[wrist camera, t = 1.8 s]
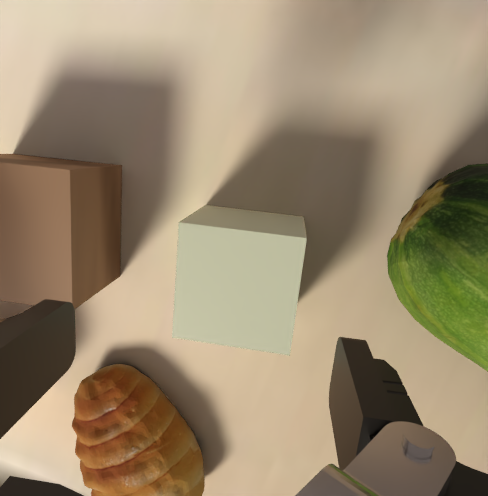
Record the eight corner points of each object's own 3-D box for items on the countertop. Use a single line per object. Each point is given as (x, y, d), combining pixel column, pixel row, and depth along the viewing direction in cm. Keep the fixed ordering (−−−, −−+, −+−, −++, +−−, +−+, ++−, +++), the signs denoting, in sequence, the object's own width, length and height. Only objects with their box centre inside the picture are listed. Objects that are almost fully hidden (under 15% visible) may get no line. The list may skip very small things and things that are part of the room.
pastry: (61, 376, 24) (19, 417, 20) (158, 343, 23) (132, 380, 19) (127, 498, 26) (100, 557, 22) (221, 474, 24) (209, 532, 21)
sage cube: (303, 216, 20) (306, 238, 15) (290, 308, 21) (289, 355, 16) (206, 204, 20) (178, 222, 15) (199, 295, 22) (172, 337, 17)
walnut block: (122, 165, 20) (69, 170, 16) (121, 275, 22) (72, 310, 17) (14, 154, 21) (-70, 155, 16) (20, 261, 22) (-55, 292, 18)
